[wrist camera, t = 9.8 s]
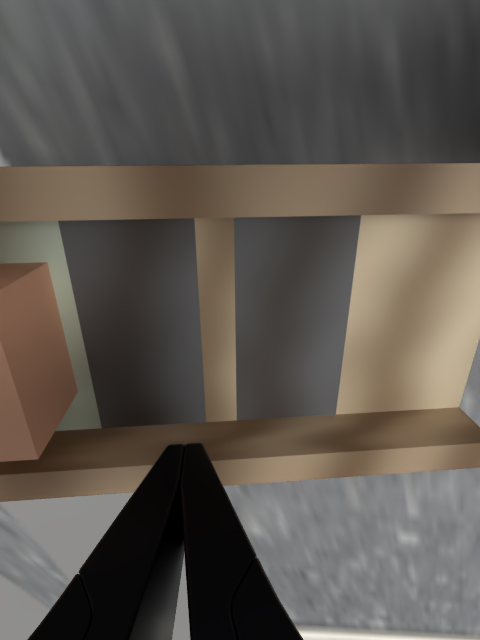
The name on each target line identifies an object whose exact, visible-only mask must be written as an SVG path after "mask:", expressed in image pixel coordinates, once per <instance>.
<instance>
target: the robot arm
mask: <svg viewBox="0 0 480 640" xmlns="http://www.w3.org/2000/svg"><path fill="white" fill-rule="evenodd" d="M184 551H185V566H186V580H187V594H188V609H189V623H190V636H191V637H190V638H191V640H303V638H302V637H301V635H300V634H299V632H298V630H297V629H296V627H295V625H294V624H293V622H292V620H291V619H290V617H289V615H288V614H287V612H286V610H285V609H284V607H283V605H282V604H281V602H280V600H279V598H278V597H277V595H276V593H275V591H274V589H273V587H272V585H271V583H270V581H269V579H268V577H267V576H266V573H265V571H264V569H263V567H262V565H261V563H260V561H259V559H258V558H257V556H256V553H255V551H254V549H253V547H252V545H251V543H250V541H249V539H248V537H247V535H246V533H245V531H244V528H243V526H242V524H241V522H240V520H239V518H238V516H237V514H236V512H235V510H234V508H233V506H232V504H231V502H230V499H229V497H228V495H227V493H226V491H225V489H224V487H223V485H222V483H221V481H220V479H219V477H218V475H217V473H216V470H215V468H214V466H213V464H212V462H211V460H210V458H209V456H208V454H207V452H206V450H205V448H204V446H203V444H202V443H200V442H198V443H187V444H186V445H184V444H170V445H168V446H167V447H166V448H165V450H164V451H163V452H162V454H161V455H160V457H159V458H158V459H157V461H156V462H155V464H154V465H153V467H152V468H151V469H150V471H149V472H148V474H147V475H146V476H145V478H144V479H143V481H142V482H141V484H140V485H139V486H138V488H137V489H136V491H135V492H134V494H133V495H132V496H131V498H130V499H129V501H128V502H127V503H126V505H125V506H124V508H123V509H122V510H121V512H120V513H119V515H118V516H117V517H116V519H115V520H114V522H113V523H112V525H111V526H110V528H109V529H108V530H107V532H106V533H105V535H104V536H103V538H102V539H101V540H100V542H99V543H98V544H97V546H96V547H95V549H94V550H93V552H92V553H91V554H90V556H89V557H88V559H87V560H86V562H85V563H84V564H83V566H82V567H81V568H80V570H79V574H80V575H79V574H77V575H75V577H74V578H73V579H72V581H71V582H70V584H69V585H68V587H67V588H66V589H65V591H64V592H63V594H62V595H61V596H60V598H59V599H58V600H57V602H56V603H55V605H54V606H53V607H52V609H51V610H50V611H49V613H48V614H47V615H46V617H45V618H44V619H43V621H42V622H41V623H40V625H39V626H38V627H37V629H36V630H35V631H34V632H33V633H32V635H31V636H30V637H29V639H28V640H172V634H173V627H174V621H175V614H176V607H177V599H178V592H179V585H180V578H181V571H182V564H183V557H184Z"/></svg>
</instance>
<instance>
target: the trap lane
mask: <svg viewBox="0 0 480 640" xmlns="http://www.w3.org/2000/svg"><path fill="white" fill-rule="evenodd" d="M38 262H48V266H49V271H50V275H51V279H52V284H53V288H54V292H55V296H56V301H57V305H58V309H59V313H60V318H61V322H62V326H63V330H64V335H65V339H66V343H67V347H68V352H69V356H70V360H71V365H72V369H73V373H74V377H75V382H76V386H77V390H78V393H77V394H76V396H75V398H74V400H73V401H72V403H71V405H70V406H69V408H68V410H67V411H66V413H65V415H64V417H63V418H62V420H61V422H60V423H59V425H58V427H57V428H56V430H55V432H54V434H53V435H52V437H51V439H50V440H49V442H48V444H47V446H46V447H45V449H44V451H43V452H42V454H41V456H40V457H39V459H36V460H20V461H5V462H0V502H4V501H19V500H32V499H45V498H60V497H74V496H88V495H102V494H116V493H130V492H135V491H136V489H137V488H138V486H139V485H140V484H141V482H142V481H143V479H144V478H145V476H146V475H147V474H148V472H149V471H150V469H151V468H152V467H153V465H154V464H155V462H156V461H157V459H158V458H159V457H160V455H161V454H162V452H163V451H164V450H165V448H166V447H167V446H168V445H170V444H184V445H186V444H187V443H198V442H200V443H202V444H203V446H204V448H205V450H206V452H207V454H208V456H209V458H210V460H211V462H212V464H213V466H214V468H215V470H216V473H217V475H218V477H219V479H220V481H221V483H222V485H223V486H227V485H241V484H255V483H269V482H283V481H297V480H311V479H325V478H339V477H353V476H367V475H381V474H395V473H408V472H422V471H436V470H450V469H464V468H478V467H480V427H479V426H478V425H477V424H476V423H475V422H474V421H473V420H472V419H471V418H470V417H468V416H467V415H466V414H465V413H464V412H463V411H462V410H461V409H460V408H459V405H460V402H461V399H462V395H463V392H464V389H465V385H466V382H467V379H468V375H469V372H470V369H471V365H472V362H473V359H474V355H475V352H476V349H477V345H478V342H479V339H480V163H420V164H290V165H161V166H32V167H0V264H1V263H38Z"/></svg>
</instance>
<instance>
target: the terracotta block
mask: <svg viewBox="0 0 480 640" xmlns="http://www.w3.org/2000/svg"><path fill="white" fill-rule="evenodd" d="M77 393H78V390H77V386H76V382H75V377H74V373H73V369H72V365H71V360H70V356H69V352H68V347H67V343H66V339H65V335H64V330H63V326H62V322H61V318H60V313H59V309H58V305H57V301H56V296H55V292H54V288H53V284H52V279H51V275H50V271H49V266H48V262H38V263H1V264H0V462H5V461H20V460H36V459H39V457H40V456H41V454H42V452H43V451H44V449H45V447H46V446H47V444H48V442H49V440H50V439H51V437H52V435H53V434H54V432H55V430H56V428H57V427H58V425H59V423H60V422H61V420H62V418H63V417H64V415H65V413H66V411H67V410H68V408H69V406H70V405H71V403H72V401H73V400H74V398H75V396H76V394H77Z"/></svg>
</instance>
